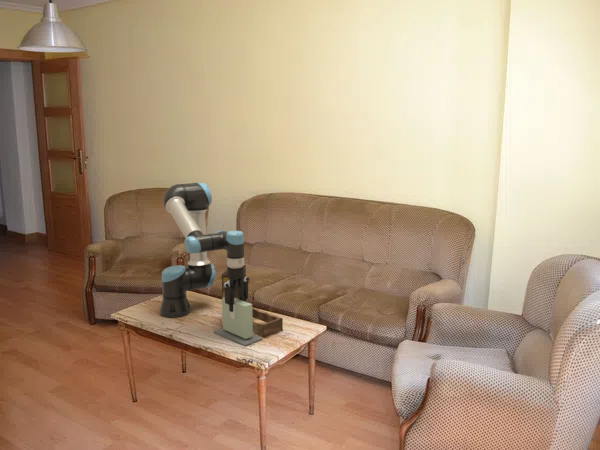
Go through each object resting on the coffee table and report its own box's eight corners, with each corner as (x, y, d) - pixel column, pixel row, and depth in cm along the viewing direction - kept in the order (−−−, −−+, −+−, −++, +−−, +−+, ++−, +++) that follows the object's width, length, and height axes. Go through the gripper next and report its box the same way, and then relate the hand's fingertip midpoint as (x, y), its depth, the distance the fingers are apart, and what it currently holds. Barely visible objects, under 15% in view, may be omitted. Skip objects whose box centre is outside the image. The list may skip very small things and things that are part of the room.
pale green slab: (222, 329, 244) (221, 298, 241) (229, 326, 247) (228, 295, 244) (246, 339, 233) (245, 306, 230) (252, 336, 236) (252, 304, 233)
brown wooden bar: (238, 326, 251) (238, 315, 250) (243, 324, 254) (243, 313, 253) (262, 336, 240) (262, 325, 239) (268, 334, 243) (268, 322, 241)
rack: (234, 325, 252) (234, 313, 251) (253, 319, 260) (252, 307, 259) (264, 337, 238) (264, 325, 237) (282, 330, 247) (282, 318, 246)
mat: (213, 332, 244) (213, 331, 244) (230, 326, 251) (230, 325, 251) (245, 346, 229) (245, 344, 229) (262, 339, 237) (262, 338, 236)
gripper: (226, 272, 225) (227, 324, 230) (256, 264, 237) (256, 313, 242) (215, 268, 230) (216, 319, 235) (244, 260, 242) (246, 309, 247)
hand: (237, 316), depth 238 cm, fingers closed on pale green slab, 4 cm apart
